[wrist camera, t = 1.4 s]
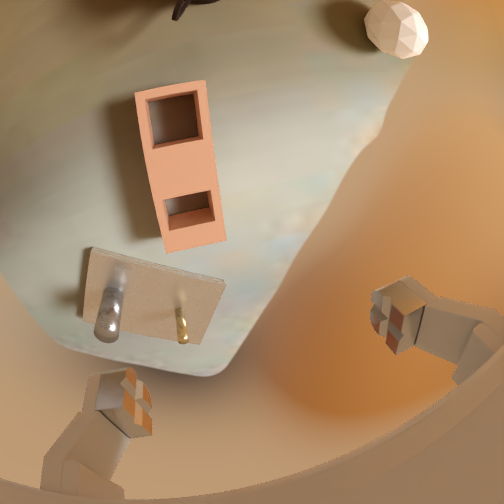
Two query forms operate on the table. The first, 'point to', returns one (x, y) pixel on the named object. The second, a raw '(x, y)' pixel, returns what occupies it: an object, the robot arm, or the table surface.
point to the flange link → (182, 171)
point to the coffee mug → (179, 10)
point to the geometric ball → (396, 29)
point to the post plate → (147, 299)
